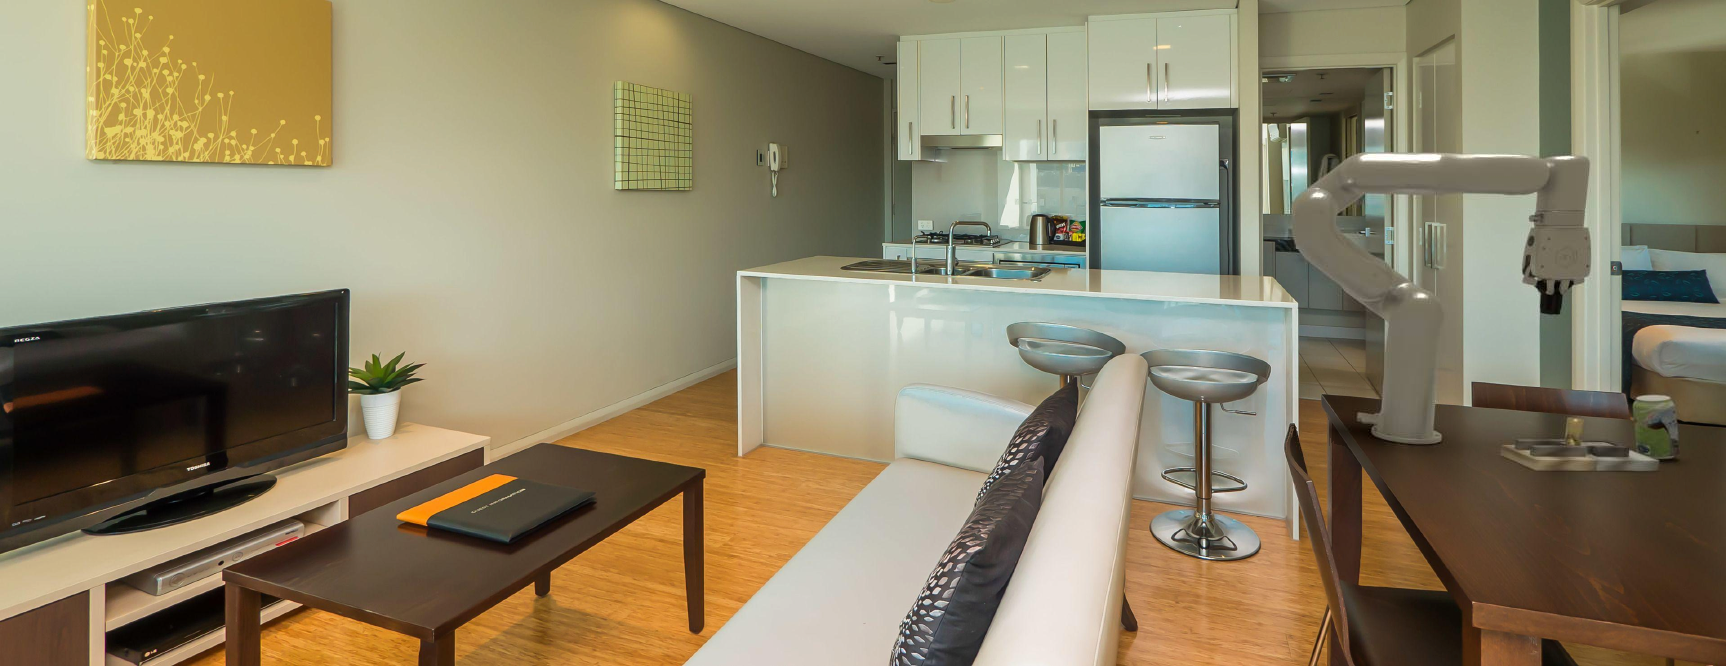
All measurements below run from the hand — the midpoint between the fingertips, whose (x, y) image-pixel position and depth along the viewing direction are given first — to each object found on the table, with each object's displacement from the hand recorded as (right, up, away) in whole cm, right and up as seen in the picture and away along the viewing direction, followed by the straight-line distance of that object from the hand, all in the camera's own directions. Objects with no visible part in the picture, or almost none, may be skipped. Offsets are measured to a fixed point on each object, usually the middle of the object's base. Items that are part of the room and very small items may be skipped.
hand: (1550, 313), depth 169 cm
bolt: (+1, -26, -7) cm, 27 cm away
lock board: (-1, -28, -7) cm, 29 cm away
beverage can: (+16, -28, -4) cm, 33 cm away
